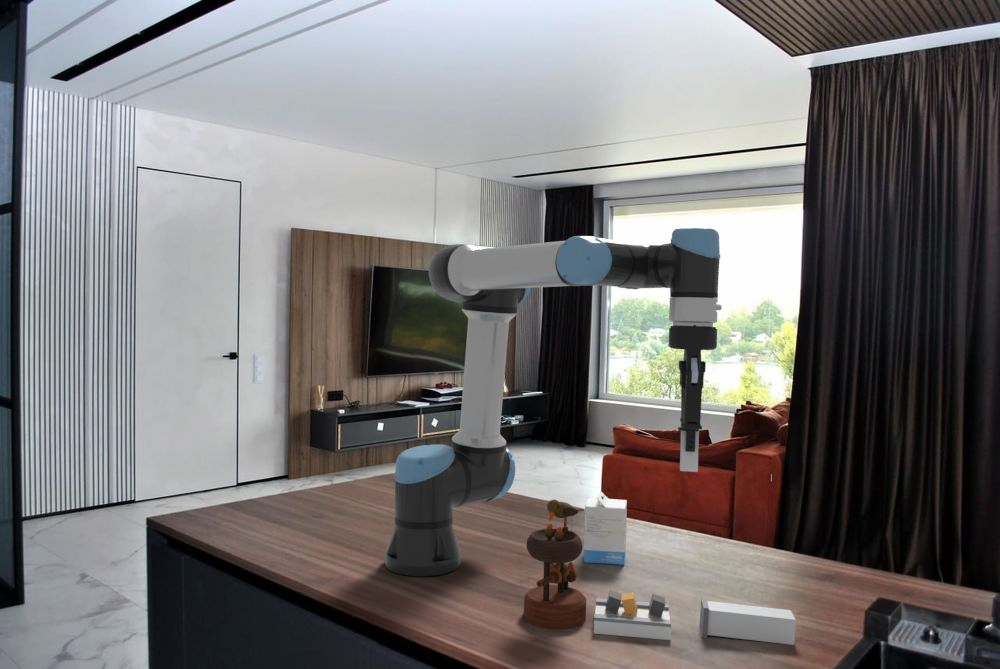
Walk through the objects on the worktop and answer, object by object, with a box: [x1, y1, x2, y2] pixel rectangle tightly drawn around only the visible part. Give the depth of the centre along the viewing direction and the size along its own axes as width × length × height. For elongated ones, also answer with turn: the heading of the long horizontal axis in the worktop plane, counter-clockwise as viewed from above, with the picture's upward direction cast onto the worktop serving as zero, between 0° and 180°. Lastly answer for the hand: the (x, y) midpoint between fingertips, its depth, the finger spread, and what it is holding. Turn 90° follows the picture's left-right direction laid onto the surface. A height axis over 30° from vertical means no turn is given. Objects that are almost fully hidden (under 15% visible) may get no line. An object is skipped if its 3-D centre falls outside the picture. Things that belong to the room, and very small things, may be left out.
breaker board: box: [593, 597, 672, 641], centre depth 126 cm, size 12×9×2 cm
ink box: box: [583, 490, 628, 566], centre depth 161 cm, size 9×8×13 cm
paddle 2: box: [621, 591, 638, 615], centre depth 126 cm, size 2×3×2 cm
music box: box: [523, 499, 587, 630], centre depth 128 cm, size 15×11×20 cm
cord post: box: [699, 596, 797, 646], centre depth 123 cm, size 5×5×14 cm
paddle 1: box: [605, 590, 623, 614], centre depth 127 cm, size 2×3×2 cm
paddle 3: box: [649, 593, 666, 618], centre depth 125 cm, size 2×3×2 cm
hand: (688, 470), depth 124 cm, fingers closed
